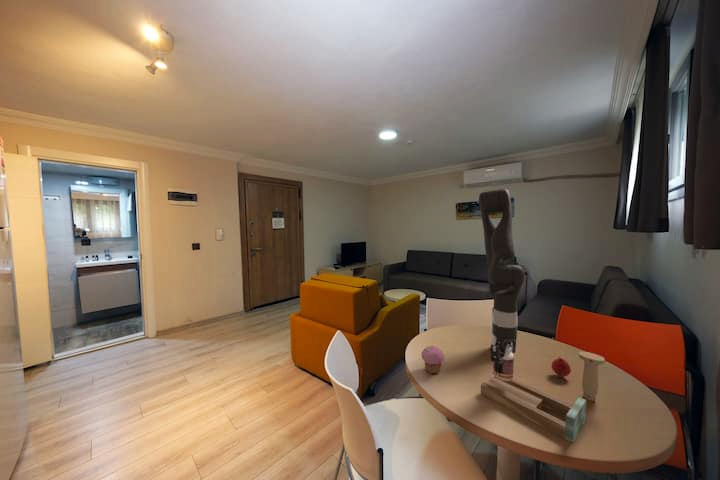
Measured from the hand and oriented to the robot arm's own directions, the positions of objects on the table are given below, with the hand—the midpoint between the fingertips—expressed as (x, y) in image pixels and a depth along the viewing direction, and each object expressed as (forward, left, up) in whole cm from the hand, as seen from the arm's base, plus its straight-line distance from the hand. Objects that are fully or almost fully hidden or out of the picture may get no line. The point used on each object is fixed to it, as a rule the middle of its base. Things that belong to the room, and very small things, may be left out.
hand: (503, 368), depth 92 cm
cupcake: (+8, -24, -9) cm, 27 cm away
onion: (-27, +9, -9) cm, 30 cm away
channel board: (0, +8, -9) cm, 12 cm away
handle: (-20, +19, -9) cm, 29 cm away
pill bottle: (0, 0, -3) cm, 3 cm away
